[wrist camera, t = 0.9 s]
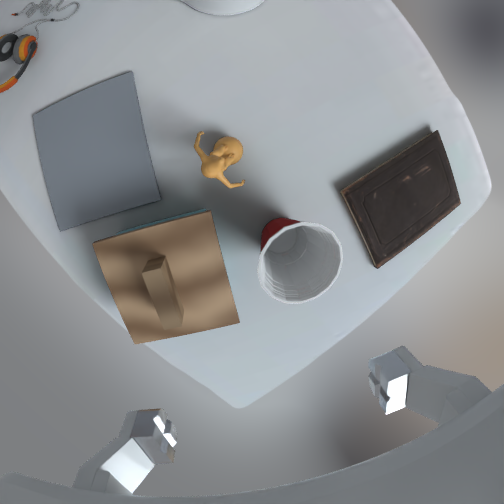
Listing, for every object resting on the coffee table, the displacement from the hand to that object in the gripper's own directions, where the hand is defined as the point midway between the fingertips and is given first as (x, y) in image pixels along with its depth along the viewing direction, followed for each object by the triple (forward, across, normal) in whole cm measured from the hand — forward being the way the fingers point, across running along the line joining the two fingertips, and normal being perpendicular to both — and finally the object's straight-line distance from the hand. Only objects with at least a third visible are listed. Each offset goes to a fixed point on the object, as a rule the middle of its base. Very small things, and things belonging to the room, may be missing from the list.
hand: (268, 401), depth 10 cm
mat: (+33, +18, -18) cm, 42 cm away
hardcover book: (+37, -30, +1) cm, 48 cm away
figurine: (+34, 0, -11) cm, 36 cm away
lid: (+28, +11, +3) cm, 30 cm away
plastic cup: (+36, -6, +3) cm, 37 cm away
